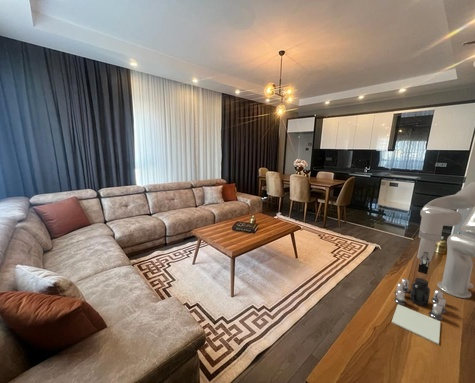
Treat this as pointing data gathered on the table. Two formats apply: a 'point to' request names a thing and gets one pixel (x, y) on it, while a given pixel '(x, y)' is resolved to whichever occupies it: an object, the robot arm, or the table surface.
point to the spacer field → (437, 300)
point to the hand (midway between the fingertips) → (423, 268)
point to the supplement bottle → (420, 292)
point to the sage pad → (417, 323)
